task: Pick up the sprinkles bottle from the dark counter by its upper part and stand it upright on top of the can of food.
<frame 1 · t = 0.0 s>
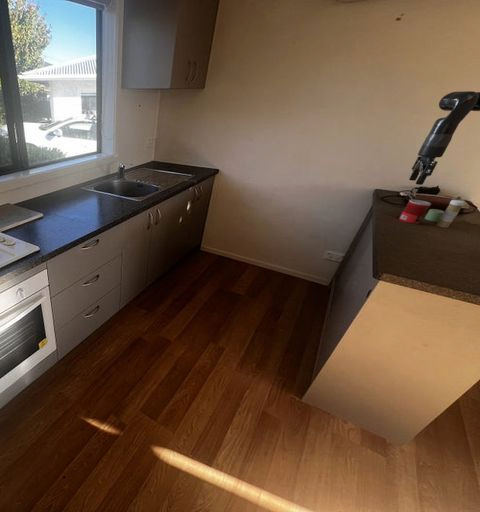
hand: (415, 182, 132), 24 cm above the worktop, tool pointing down, fingers open, 8 cm apart
canned food: (408, 222, 152), on the worktop
green rounded block: (432, 219, 154), on the worktop
sprinkles bottle: (441, 226, 146), on the worktop
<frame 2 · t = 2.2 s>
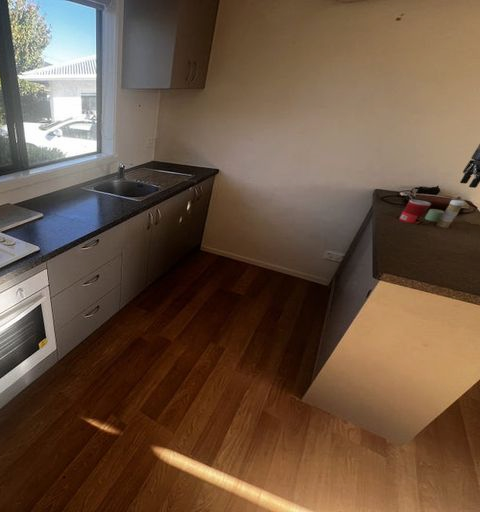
hand: (467, 185, 136), 21 cm above the worktop, tool pointing down, fingers open, 8 cm apart
nothing on the worktop moved.
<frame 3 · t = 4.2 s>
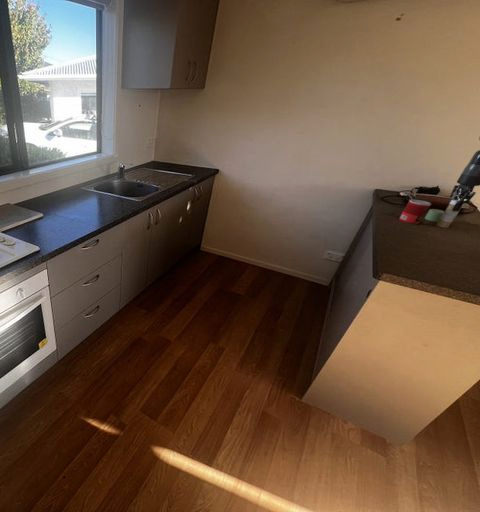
hand: (452, 208, 142), 9 cm above the worktop, tool pointing down, fingers closed on sprinkles bottle, 4 cm apart
sprinkles bottle: (441, 226, 146), on the worktop, touching gripper
everything else where it was.
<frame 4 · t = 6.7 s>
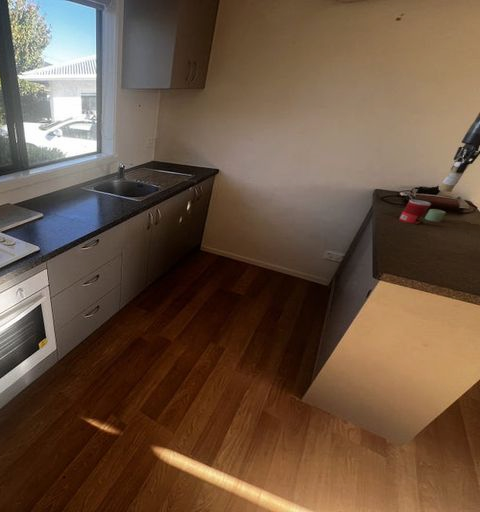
hand: (456, 171, 136), 27 cm above the worktop, tool pointing down, fingers closed on sprinkles bottle, 4 cm apart
sprinkles bottle: (444, 191, 141), point 17 cm above the worktop, touching gripper
everything else where it was.
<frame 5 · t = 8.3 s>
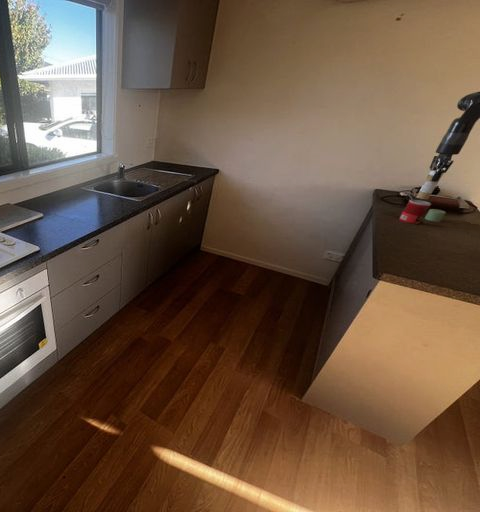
hand: (432, 179, 141), 22 cm above the worktop, tool pointing down, fingers closed on sprinkles bottle, 4 cm apart
sprinkles bottle: (421, 198, 145), point 13 cm above the worktop, touching gripper
everything else where it was.
when the fingers open (21 cm above the worktop, at t = 9.3 s): sprinkles bottle stays where it is, resting on canned food.
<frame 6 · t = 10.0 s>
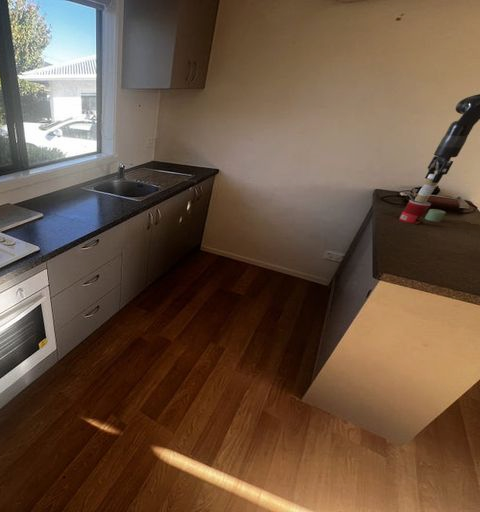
hand: (431, 180, 141), 22 cm above the worktop, tool pointing down, fingers open, 8 cm apart
canned food: (408, 222, 152), on the worktop, touching sprinkles bottle
sprinkles bottle: (419, 201, 146), point 11 cm above the worktop, touching canned food
everything else where it was.
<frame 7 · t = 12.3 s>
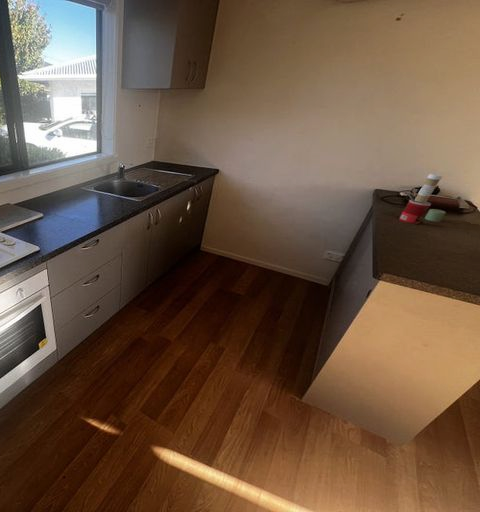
nothing on the worktop moved.
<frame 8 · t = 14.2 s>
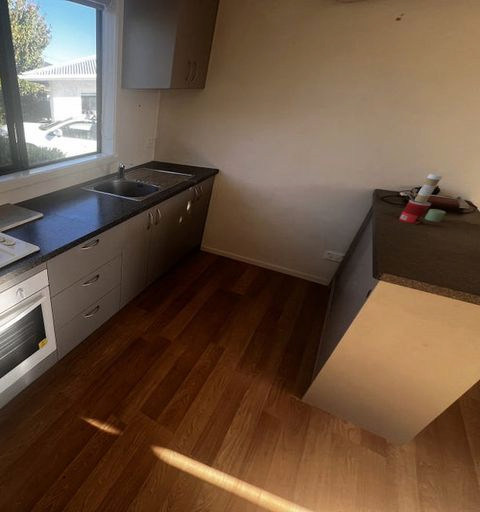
nothing on the worktop moved.
at the end: sprinkles bottle 0.1 cm off-centre on the canned food, point 11.2 cm above the canned food's base; sprinkles bottle tilted 0°; the gripper is holding nothing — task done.
